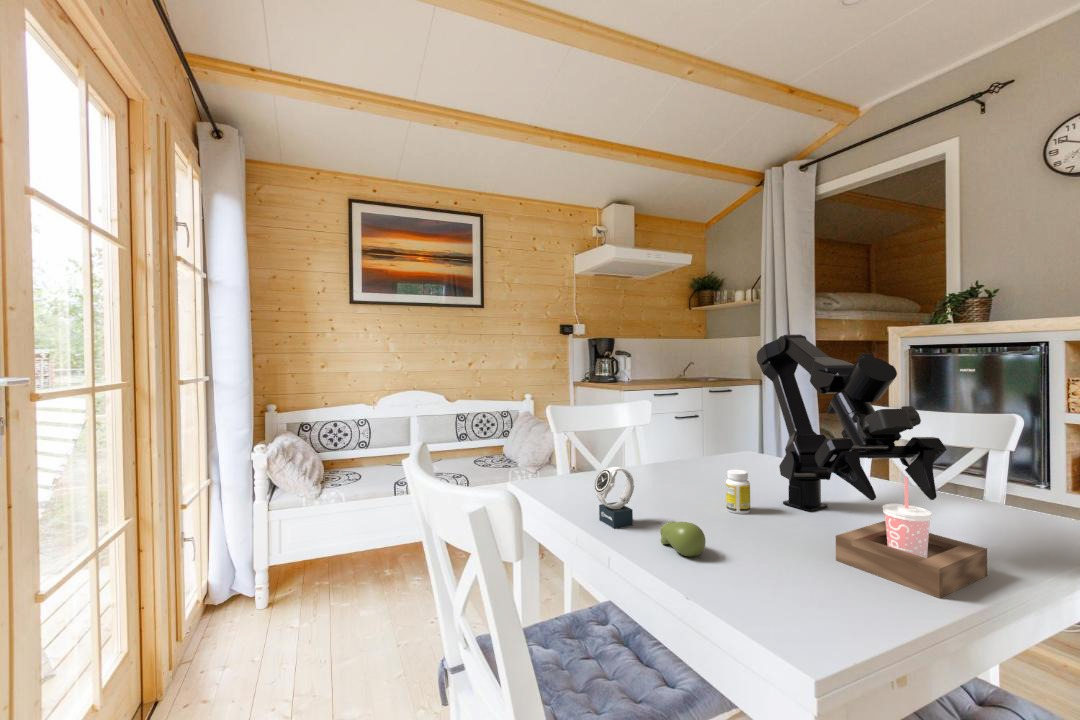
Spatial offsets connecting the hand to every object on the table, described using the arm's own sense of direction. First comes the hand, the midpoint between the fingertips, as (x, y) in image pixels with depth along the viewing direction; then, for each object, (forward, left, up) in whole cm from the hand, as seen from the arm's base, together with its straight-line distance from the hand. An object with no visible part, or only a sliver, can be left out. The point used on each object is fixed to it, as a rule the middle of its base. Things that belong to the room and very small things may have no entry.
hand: (903, 498), depth 76 cm
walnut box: (0, +1, -10) cm, 10 cm away
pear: (+26, -22, -11) cm, 35 cm away
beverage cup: (0, +1, -11) cm, 11 cm away
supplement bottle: (0, -31, -11) cm, 33 cm away
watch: (+27, -38, -11) cm, 48 cm away
